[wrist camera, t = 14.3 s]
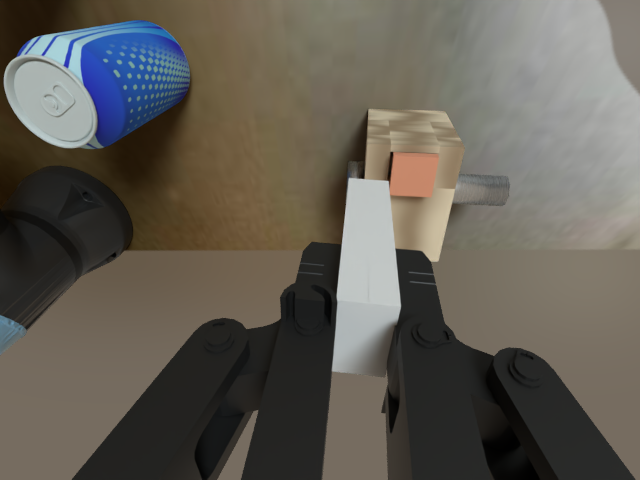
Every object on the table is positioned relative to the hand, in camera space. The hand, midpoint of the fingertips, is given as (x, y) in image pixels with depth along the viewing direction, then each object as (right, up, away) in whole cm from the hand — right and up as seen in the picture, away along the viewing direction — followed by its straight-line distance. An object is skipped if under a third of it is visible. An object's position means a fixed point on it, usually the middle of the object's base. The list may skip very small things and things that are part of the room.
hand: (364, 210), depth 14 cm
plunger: (+7, +9, +22) cm, 25 cm away
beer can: (-19, +18, +25) cm, 36 cm away
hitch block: (+7, +8, +28) cm, 30 cm away
